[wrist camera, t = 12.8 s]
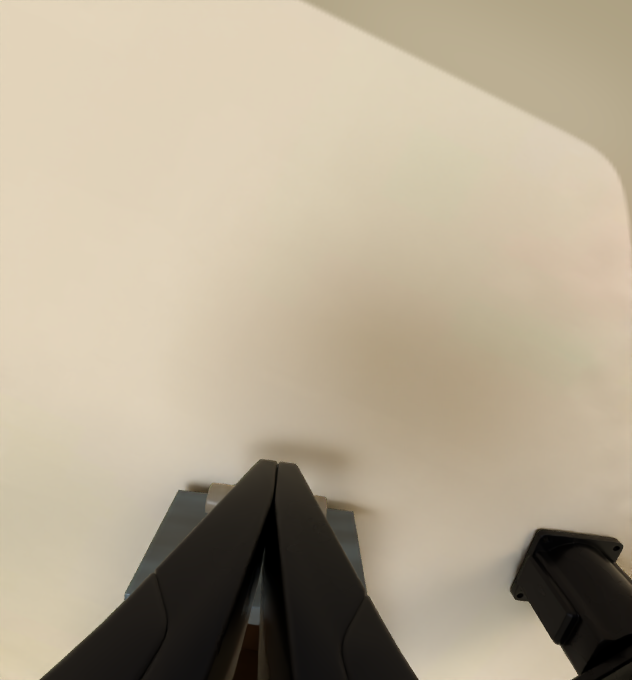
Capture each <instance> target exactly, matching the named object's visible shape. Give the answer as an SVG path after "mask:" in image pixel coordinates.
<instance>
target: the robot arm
mask: <svg viewBox="0 0 632 680" xmlns="http://www.w3.org/2000/svg"><path fill="white" fill-rule="evenodd" d="M277 466H278V467H277ZM622 549H623V545H622V544H621V543H620V542H619V541H618V540H617V539H615V538H607V537H599V536H591V535H583V534H575V533H567V532H559V531H551V530H540V531H539V532H537V534H536V535H535V538H534V540H533V542H532V544H531V546H530V549H529V551H528V553H527V555H526V557H525V560H524V562H523V564H522V566H521V568H520V571H519V573H518V575H517V577H516V579H515V582H514V584H513V586H512V588H511V594H512V596H513V597H514V599H515V600H520V601H529V603H530V604H531V606H532V608H533V609H534V611H535V613H536V614H537V616H538V618H539V619H540V621H541V622H542V624H543V626H544V627H545V629H546V631H547V632H548V634H549V635H550V637H551V639H552V640H553V642H554V643H555V644H557V645H560V646H561V648H562V649H563V651H564V653H565V654H566V656H567V657H568V659H569V661H570V662H571V664H572V665H573V667H574V669H575V670H576V672H577V673H578V676H577V677H575V678H573V679H572V680H632V580H631V579H630V577H629V576H628V575H627V574H626V573H625V572H624V571H623V570H622V569H621V568H620V567H619V566H618V565H617V564H616V563H615V562H616V560H617V558H618V557H619V555H620V553H621V551H622ZM264 550H265V551H264ZM263 556H264V558H263ZM262 562H263V565H262ZM261 568H262V575H261V593H260V621H259V648H258V676H257V680H418V678H417V676H416V675H415V673H414V672H413V670H412V669H411V667H410V666H409V664H408V662H407V661H406V659H405V658H404V656H403V655H402V653H401V652H400V650H399V648H398V646H397V645H396V643H395V641H394V640H393V638H392V636H391V634H390V633H389V631H388V629H387V627H386V626H385V624H384V622H383V621H382V619H381V617H380V615H379V614H378V612H377V610H376V608H375V606H374V604H373V602H372V601H371V599H370V597H369V596H366V590H365V588H364V586H363V585H362V583H361V581H360V579H359V577H358V575H357V574H356V572H355V570H354V568H353V566H352V564H351V563H350V561H349V559H348V557H347V555H346V553H345V552H344V550H343V548H342V546H341V544H340V543H339V541H338V539H337V537H336V535H335V533H334V532H333V530H332V528H331V526H330V524H329V522H328V521H327V519H326V517H325V515H324V513H323V512H322V510H321V508H320V506H319V504H318V502H317V501H316V499H315V497H314V495H313V493H312V491H311V490H310V488H309V486H308V484H307V482H306V481H305V479H304V477H303V475H302V473H301V471H300V470H299V468H298V466H297V465H296V464H294V463H287V462H279V463H277V462H276V461H272V460H265V459H260V460H259V461H258V462H257V463H256V464H255V465H254V466H253V467H252V468H251V469H250V470H249V471H248V472H247V473H246V474H245V475H244V476H243V477H242V478H241V480H240V481H239V482H238V483H237V484H236V485H235V486H234V487H233V488H232V489H231V490H230V491H229V492H228V493H227V494H226V495H225V496H224V497H223V498H222V499H221V501H220V502H219V503H218V504H217V505H216V506H215V507H214V508H213V509H212V510H211V511H210V512H209V513H208V514H207V515H206V516H205V517H204V518H203V519H202V520H201V522H200V523H199V524H198V525H197V526H196V527H195V528H194V529H193V530H192V531H191V532H190V533H189V534H188V535H187V536H186V537H185V538H184V539H183V540H182V541H181V543H180V544H179V545H178V546H177V547H176V548H175V549H174V550H173V551H172V552H171V553H170V554H169V555H168V556H167V557H166V558H165V559H164V560H163V561H162V562H161V564H160V565H159V566H158V567H157V568H156V569H155V573H151V574H150V575H149V576H148V577H147V578H146V579H145V580H144V581H143V582H142V583H141V584H140V585H139V586H138V587H137V588H136V590H135V591H134V592H133V593H132V594H131V595H130V596H129V597H128V598H127V599H126V600H125V601H124V602H123V603H122V604H121V605H120V606H119V607H118V608H117V609H116V610H115V611H114V612H113V613H112V614H111V615H110V616H109V617H108V618H107V619H106V620H105V621H104V622H103V623H102V624H101V625H99V626H98V627H97V628H96V629H95V630H94V631H93V632H92V633H91V634H90V635H88V636H87V637H86V638H85V639H84V640H83V641H82V642H81V643H80V644H79V645H78V646H76V647H75V648H74V649H73V650H72V651H71V652H70V653H69V654H68V655H67V656H65V657H64V658H63V659H62V660H61V661H60V662H59V663H58V664H57V665H55V666H54V667H53V668H52V669H51V670H50V671H49V672H48V673H46V674H45V675H44V676H43V677H42V678H41V679H40V680H233V678H234V674H235V670H236V666H237V662H238V658H239V655H240V651H241V647H242V643H243V639H244V636H245V632H246V628H247V624H248V620H249V617H250V613H251V609H252V605H253V601H254V598H255V594H256V590H257V586H258V582H259V578H260V573H261Z"/></svg>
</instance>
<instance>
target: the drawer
mask: <svg viewBox="0 0 632 680" xmlns="http://www.w3.org/2000/svg"><path fill="white" fill-rule="evenodd" d="M234 486H235V485H227V484H219V483H212V484H211V486H210V488H209V491H208V493H200V492H192V491H184V490H178V492H177V494H176V496H175V498H174V500H173V502H172V504H171V506H170V507H169V509H168V511H167V513H166V515H165V517H164V519H163V521H162V523H161V525H160V527H159V529H158V531H157V532H156V534H155V536H154V538H153V540H152V542H151V544H150V546H149V548H148V550H147V552H146V554H145V556H144V557H143V559H142V561H141V563H140V565H139V567H138V569H137V571H136V573H135V575H134V577H133V579H132V581H131V582H130V584H129V586H128V588H127V590H126V592H125V600H126V599H127V598H128V597H129V596H130V595H131V594H132V593H133V592H134V591H135V590H136V588H137V587H138V586H139V585H140V584H141V583H142V582H143V581H144V580H145V579H146V578H147V577H148V576H149V575H150V574H151V573H155V569H156V568H157V567H158V566H159V565H160V564H161V562H162V561H163V560H164V559H165V558H166V557H167V556H168V555H169V554H170V553H171V552H172V551H173V550H174V549H175V548H176V547H177V546H178V545H179V544H180V543H181V541H182V540H183V539H184V538H185V537H186V536H187V535H188V534H189V533H190V532H191V531H192V530H193V529H194V528H195V527H196V526H197V525H198V524H199V523H200V522H201V520H202V519H203V518H204V517H205V516H206V515H207V514H208V513H209V512H210V511H211V510H212V509H213V508H214V507H215V506H216V505H217V504H218V503H219V502H220V501H221V499H222V498H223V497H224V496H225V495H226V494H227V493H228V492H229V491H230V490H231V489H232V488H233V487H234ZM314 497H315V499H316V501H317V502H318V504H319V506H320V508H321V510H322V512H323V513H324V515H325V517H326V519H327V521H328V522H329V524H330V526H331V528H332V530H333V532H334V533H335V535H336V537H337V539H338V541H339V543H340V544H341V546H342V548H343V550H344V552H345V553H346V555H347V557H348V559H349V561H350V563H351V564H352V566H353V568H354V570H355V572H356V574H357V575H358V577H359V579H360V581H361V583H362V585H363V586H364V588H365V590H366V584H365V578H364V572H363V566H362V560H361V554H360V548H359V542H358V537H357V531H356V525H355V519H354V513H353V511H345V510H337V509H329V508H327V500H326V497H322V496H314ZM264 551H265V550H264ZM263 558H264V556H263ZM262 565H263V562H262ZM261 575H262V568H261V573H260V578H259V582H258V586H257V590H256V594H255V598H254V601H253V605H252V609H251V613H250V617H249V620H248V624H247V628H246V632H245V636H244V639H243V643H242V647H241V651H240V655H239V658H238V662H237V666H236V670H235V674H234V678H233V680H257V676H258V648H259V621H260V593H261ZM366 596H367V590H366Z"/></svg>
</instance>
